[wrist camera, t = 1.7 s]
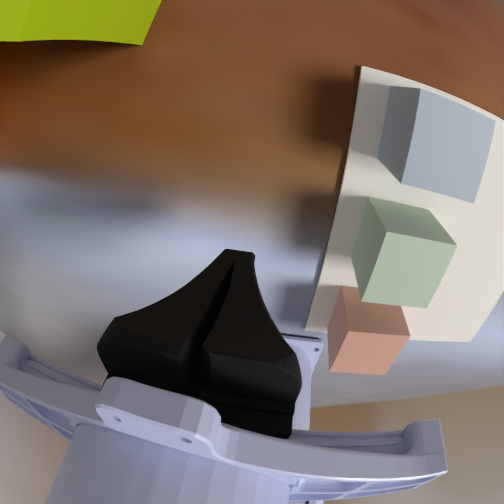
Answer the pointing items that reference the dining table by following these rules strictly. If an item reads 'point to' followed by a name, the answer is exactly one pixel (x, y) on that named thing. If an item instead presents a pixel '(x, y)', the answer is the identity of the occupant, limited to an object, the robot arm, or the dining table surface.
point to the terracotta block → (364, 334)
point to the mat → (441, 206)
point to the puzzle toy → (77, 20)
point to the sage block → (400, 254)
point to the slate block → (435, 143)
